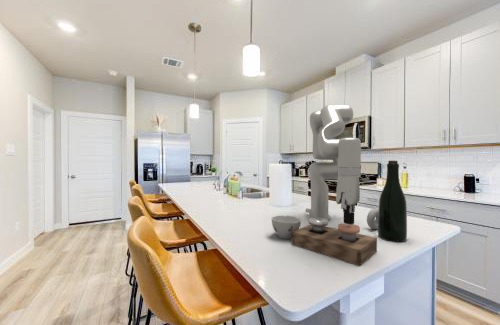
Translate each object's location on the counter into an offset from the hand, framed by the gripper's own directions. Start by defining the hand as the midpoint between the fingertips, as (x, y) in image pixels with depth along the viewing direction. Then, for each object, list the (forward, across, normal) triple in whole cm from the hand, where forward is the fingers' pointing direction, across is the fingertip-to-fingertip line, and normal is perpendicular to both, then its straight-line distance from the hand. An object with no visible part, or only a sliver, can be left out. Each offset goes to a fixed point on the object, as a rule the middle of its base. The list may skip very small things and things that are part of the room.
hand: (348, 223), depth 83 cm
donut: (+11, -36, -2) cm, 38 cm away
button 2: (+7, 0, 0) cm, 7 cm away
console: (+11, 0, -6) cm, 12 cm away
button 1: (+6, 0, -12) cm, 14 cm away
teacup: (+11, +2, -27) cm, 29 cm away
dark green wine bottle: (+11, -28, +7) cm, 31 cm away
